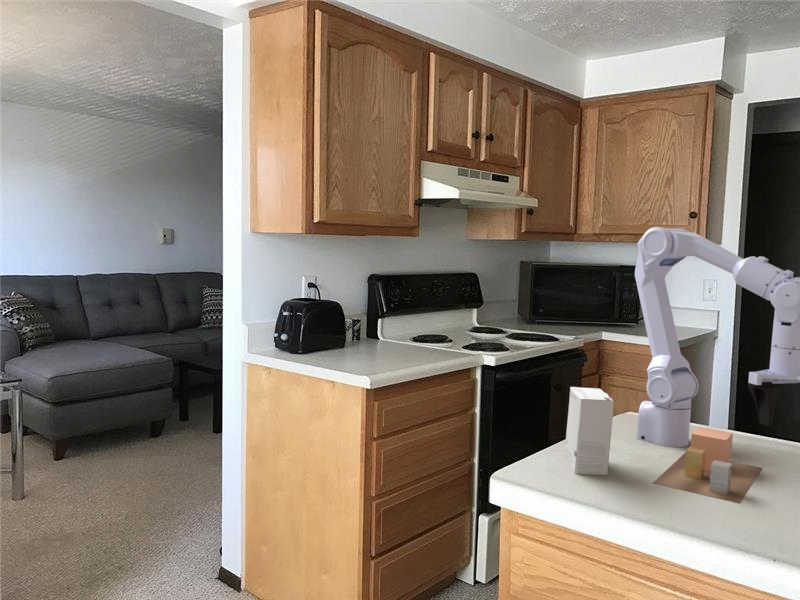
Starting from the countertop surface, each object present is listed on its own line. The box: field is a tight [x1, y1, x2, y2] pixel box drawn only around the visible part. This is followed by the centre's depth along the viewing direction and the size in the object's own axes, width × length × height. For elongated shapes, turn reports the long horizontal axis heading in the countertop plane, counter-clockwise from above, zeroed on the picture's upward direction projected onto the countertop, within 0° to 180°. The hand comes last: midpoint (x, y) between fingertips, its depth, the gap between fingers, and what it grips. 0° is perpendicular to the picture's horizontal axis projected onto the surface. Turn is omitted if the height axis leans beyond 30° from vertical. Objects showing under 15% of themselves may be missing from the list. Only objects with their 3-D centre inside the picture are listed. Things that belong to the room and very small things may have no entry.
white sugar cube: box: [709, 460, 732, 495], centre depth 107 cm, size 3×3×4 cm
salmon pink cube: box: [690, 426, 734, 471], centre depth 119 cm, size 6×6×6 cm
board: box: [652, 451, 763, 504], centre depth 115 cm, size 13×21×2 cm, turn 143°
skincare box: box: [563, 386, 615, 476], centre depth 117 cm, size 8×6×15 cm
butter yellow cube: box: [684, 446, 706, 479], centre depth 114 cm, size 3×3×4 cm
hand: (783, 423), depth 117 cm, fingers open, 7 cm apart
